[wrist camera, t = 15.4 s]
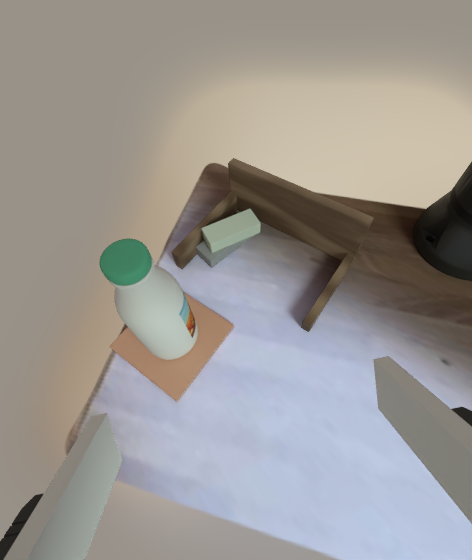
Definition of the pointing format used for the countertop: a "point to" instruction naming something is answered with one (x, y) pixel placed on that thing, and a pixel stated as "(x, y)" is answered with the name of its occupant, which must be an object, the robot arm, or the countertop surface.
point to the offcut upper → (231, 230)
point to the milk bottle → (149, 300)
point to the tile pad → (181, 370)
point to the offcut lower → (218, 255)
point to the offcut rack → (288, 221)
